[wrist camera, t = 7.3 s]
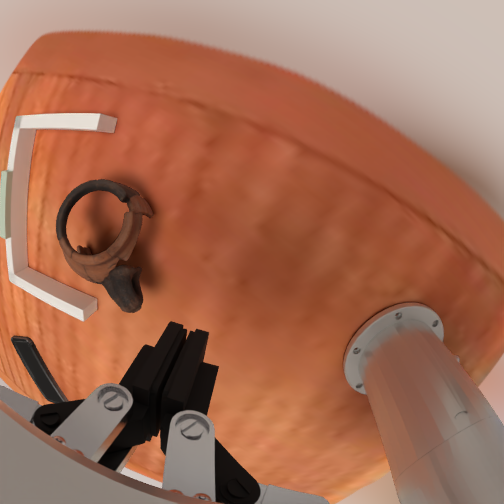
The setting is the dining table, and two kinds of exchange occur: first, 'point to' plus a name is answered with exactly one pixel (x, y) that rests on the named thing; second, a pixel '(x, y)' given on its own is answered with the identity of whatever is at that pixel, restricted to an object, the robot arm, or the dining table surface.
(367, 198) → the dining table surface
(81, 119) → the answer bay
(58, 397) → the phone
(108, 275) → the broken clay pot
